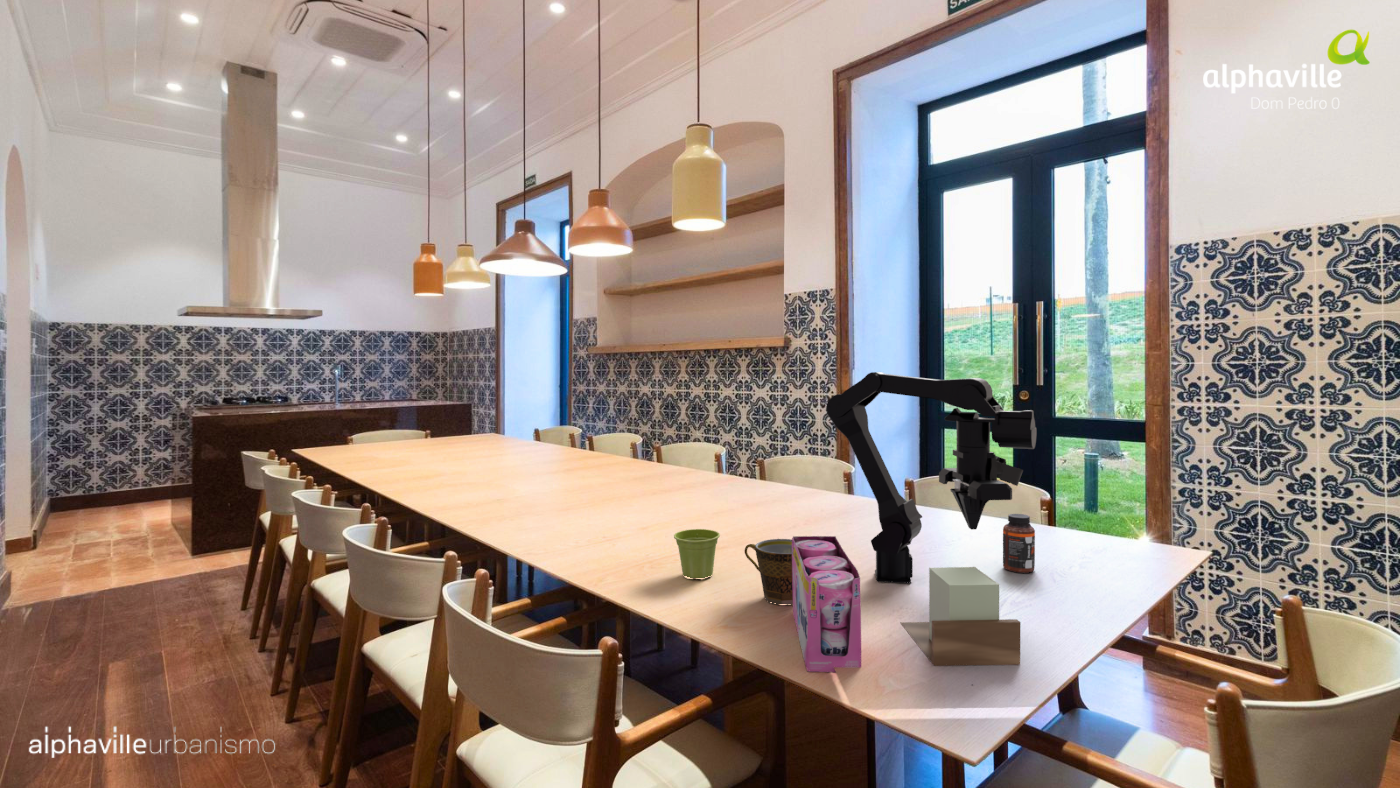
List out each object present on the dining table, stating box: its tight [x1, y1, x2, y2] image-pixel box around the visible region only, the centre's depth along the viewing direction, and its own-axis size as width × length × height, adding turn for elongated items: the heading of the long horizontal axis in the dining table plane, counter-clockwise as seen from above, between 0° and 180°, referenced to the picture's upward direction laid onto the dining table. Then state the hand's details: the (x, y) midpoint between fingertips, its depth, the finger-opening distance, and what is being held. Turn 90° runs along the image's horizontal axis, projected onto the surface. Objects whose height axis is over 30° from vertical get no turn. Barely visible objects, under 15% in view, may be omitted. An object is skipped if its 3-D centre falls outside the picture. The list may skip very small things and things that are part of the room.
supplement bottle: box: [1002, 513, 1036, 574], centre depth 135 cm, size 6×6×11 cm
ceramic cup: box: [744, 538, 793, 604], centre depth 120 cm, size 13×10×10 cm
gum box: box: [791, 535, 862, 673], centre depth 101 cm, size 24×8×14 cm, turn 177°
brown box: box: [900, 618, 1021, 667], centre depth 98 cm, size 15×12×7 cm
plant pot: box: [673, 528, 721, 578], centre depth 133 cm, size 9×9×9 cm
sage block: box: [928, 566, 1000, 641], centre depth 95 cm, size 8×7×11 cm
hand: (972, 528), depth 121 cm, fingers closed
